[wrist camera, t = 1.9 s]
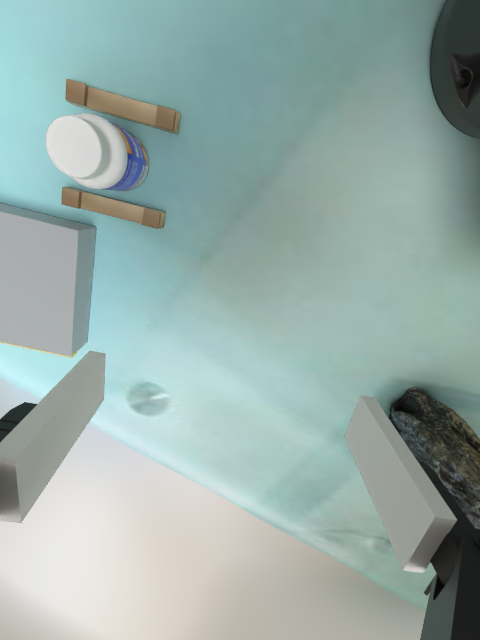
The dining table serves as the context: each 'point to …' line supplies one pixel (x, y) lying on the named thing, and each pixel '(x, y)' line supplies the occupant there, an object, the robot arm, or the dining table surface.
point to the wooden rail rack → (132, 112)
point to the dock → (45, 281)
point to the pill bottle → (96, 152)
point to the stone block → (442, 446)
